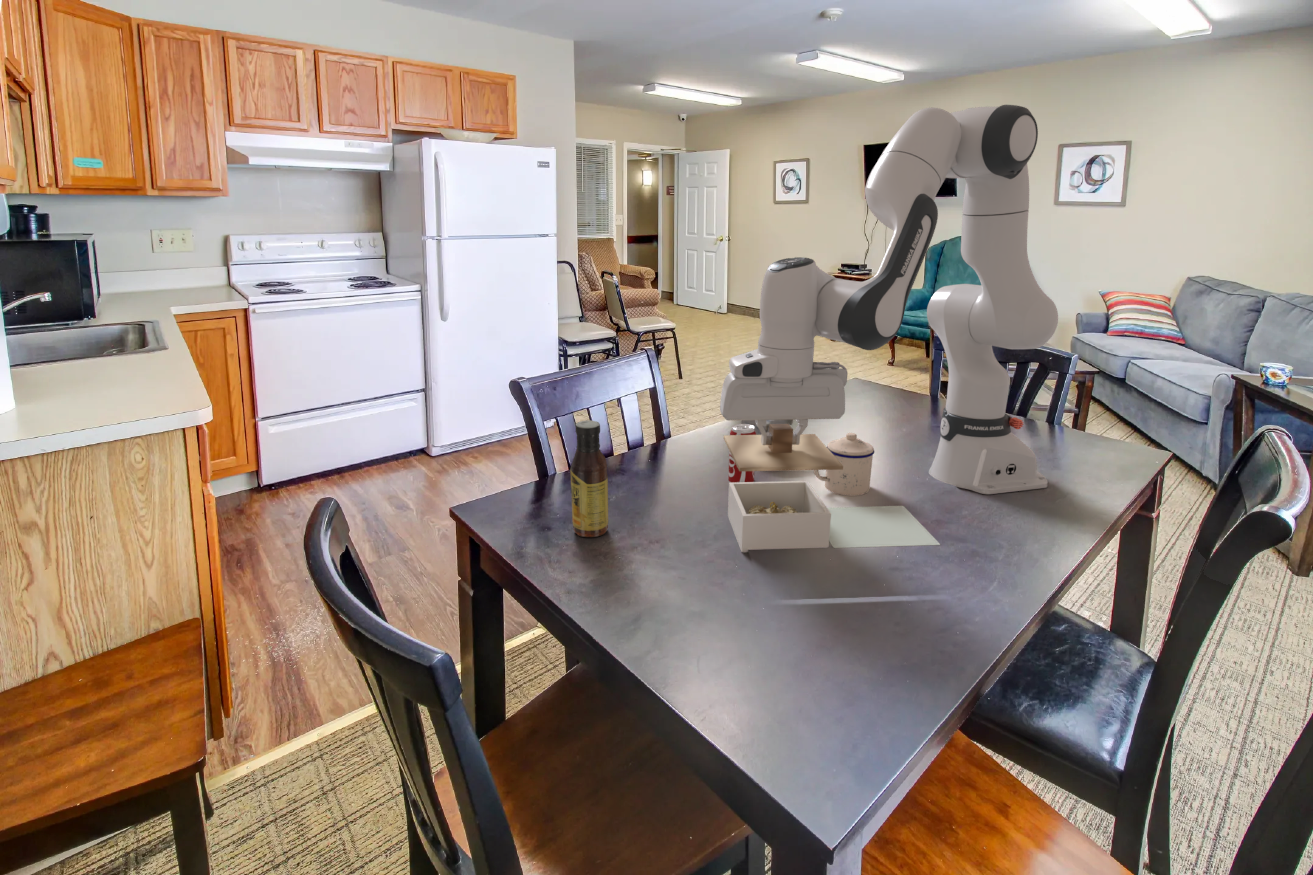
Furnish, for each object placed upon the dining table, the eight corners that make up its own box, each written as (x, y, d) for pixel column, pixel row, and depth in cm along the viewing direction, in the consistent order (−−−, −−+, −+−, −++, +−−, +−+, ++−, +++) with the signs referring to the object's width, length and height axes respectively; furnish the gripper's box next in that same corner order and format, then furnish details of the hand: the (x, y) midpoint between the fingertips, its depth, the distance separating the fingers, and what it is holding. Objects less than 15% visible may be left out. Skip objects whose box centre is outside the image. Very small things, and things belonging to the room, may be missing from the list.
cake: (807, 544, 121) (810, 516, 119) (749, 546, 121) (750, 518, 119) (794, 515, 130) (796, 489, 128) (739, 517, 130) (740, 491, 128)
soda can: (752, 488, 143) (755, 431, 139) (726, 486, 144) (728, 429, 140) (754, 479, 148) (757, 423, 144) (729, 477, 148) (731, 422, 145)
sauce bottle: (573, 524, 127) (568, 417, 121) (608, 523, 127) (606, 416, 121) (572, 541, 121) (567, 429, 114) (609, 539, 121) (606, 428, 115)
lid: (814, 442, 128) (816, 412, 126) (842, 475, 112) (845, 441, 110) (723, 443, 127) (724, 413, 125) (739, 477, 111) (740, 443, 109)
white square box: (805, 513, 131) (807, 480, 129) (828, 549, 117) (831, 513, 115) (727, 515, 130) (728, 482, 128) (741, 552, 117) (742, 515, 115)
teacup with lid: (856, 479, 147) (861, 425, 144) (879, 495, 139) (885, 439, 135) (802, 484, 145) (806, 429, 141) (822, 501, 136) (827, 444, 133)
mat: (902, 508, 133) (903, 505, 133) (940, 547, 118) (940, 544, 118) (807, 510, 132) (808, 508, 132) (833, 550, 117) (833, 547, 117)
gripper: (842, 357, 118) (835, 437, 122) (719, 359, 117) (717, 439, 121) (854, 366, 112) (847, 449, 116) (725, 367, 111) (722, 451, 115)
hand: (780, 444), depth 119 cm, fingers closed on lid, 3 cm apart
